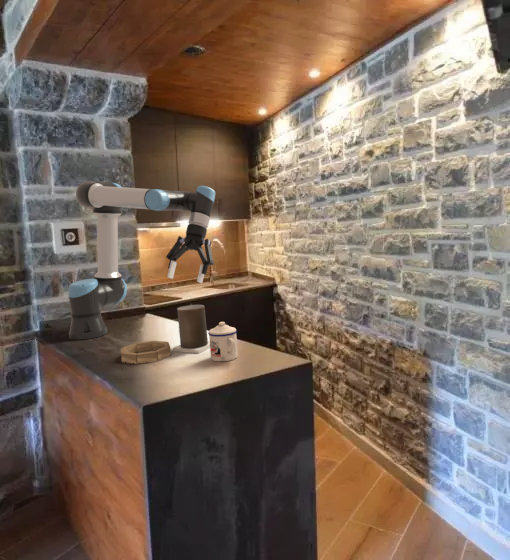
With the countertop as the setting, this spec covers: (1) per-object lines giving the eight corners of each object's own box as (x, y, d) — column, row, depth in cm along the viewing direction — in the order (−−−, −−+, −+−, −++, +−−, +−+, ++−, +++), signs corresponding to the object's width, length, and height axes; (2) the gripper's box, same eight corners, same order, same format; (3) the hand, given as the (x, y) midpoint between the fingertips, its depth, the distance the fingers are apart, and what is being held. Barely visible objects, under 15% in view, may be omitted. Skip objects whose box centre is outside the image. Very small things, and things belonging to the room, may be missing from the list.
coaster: (172, 350, 151) (172, 348, 151) (191, 342, 161) (191, 340, 161) (198, 353, 146) (198, 350, 146) (216, 344, 156) (216, 341, 156)
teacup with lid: (205, 357, 141) (202, 322, 140) (230, 351, 146) (227, 318, 144) (222, 366, 131) (219, 328, 129) (248, 360, 136) (245, 323, 134)
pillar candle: (210, 345, 151) (207, 303, 149) (183, 350, 147) (179, 306, 146) (204, 340, 160) (201, 300, 158) (177, 344, 157) (174, 303, 155)
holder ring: (111, 360, 144) (110, 352, 144) (144, 347, 158) (143, 339, 158) (148, 365, 137) (147, 356, 136) (179, 351, 151) (178, 342, 150)
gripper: (230, 232, 163) (217, 286, 160) (177, 227, 174) (164, 278, 171) (220, 225, 156) (207, 282, 153) (165, 220, 167) (152, 273, 164)
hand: (184, 280), depth 162 cm, fingers open, 13 cm apart
